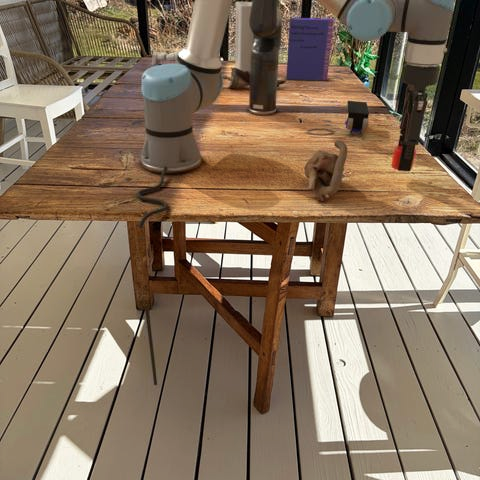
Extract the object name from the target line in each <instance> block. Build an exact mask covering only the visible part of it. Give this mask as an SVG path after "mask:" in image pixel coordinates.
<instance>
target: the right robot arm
mask: <svg viewBox="0 0 480 480" xmlns="http://www.w3.org/2000/svg"><path fill="white" fill-rule="evenodd" d="M278 1H279V0H252V1H251V2H252V6H251V11H250V16H249V26H250V29H251V31H252V33H253V44H252V48H251V52H250V86H249V98H248V99H249V100H248V101H249V102H248V112H249V113H251V114H253V115H259V116H267V115H273V114H275V113H276V112H277V99H278V98H277V97H278V95H277V94H278V88H277V80H279V79H278V78H279V76H278V75H279V58H280V57H279V56H280V50H281V43H282V31H283V30H282V29H283V16H282V13H281V10H280V9H279V8H278V3H279V2H278Z"/></svg>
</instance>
